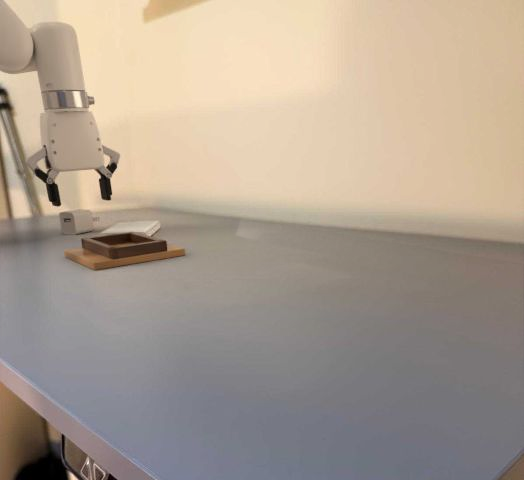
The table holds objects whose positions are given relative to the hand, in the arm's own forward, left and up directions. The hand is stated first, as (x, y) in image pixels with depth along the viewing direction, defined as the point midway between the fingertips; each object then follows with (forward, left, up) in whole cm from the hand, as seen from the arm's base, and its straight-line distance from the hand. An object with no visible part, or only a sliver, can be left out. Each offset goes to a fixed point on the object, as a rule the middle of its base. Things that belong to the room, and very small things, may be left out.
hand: (82, 202), depth 102 cm
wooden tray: (+28, -5, -5) cm, 29 cm away
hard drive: (+11, +4, -6) cm, 13 cm away
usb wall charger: (0, -1, -6) cm, 6 cm away
